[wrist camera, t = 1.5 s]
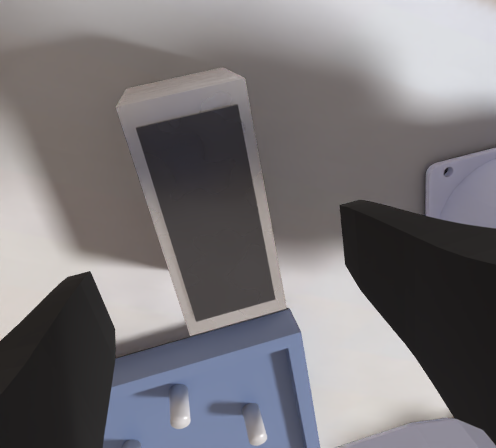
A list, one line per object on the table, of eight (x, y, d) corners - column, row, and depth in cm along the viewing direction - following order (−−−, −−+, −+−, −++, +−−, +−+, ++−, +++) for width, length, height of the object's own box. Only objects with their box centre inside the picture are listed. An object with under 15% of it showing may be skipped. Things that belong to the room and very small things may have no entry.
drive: (221, 67, 17) (246, 78, 12) (259, 250, 21) (287, 310, 16) (126, 87, 17) (114, 108, 12) (183, 271, 21) (190, 338, 16)
